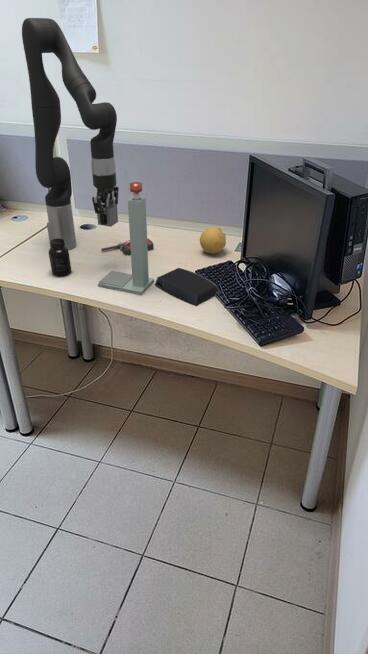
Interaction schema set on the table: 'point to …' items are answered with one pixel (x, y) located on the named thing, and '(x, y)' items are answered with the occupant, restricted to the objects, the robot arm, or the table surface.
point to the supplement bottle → (59, 258)
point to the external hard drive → (187, 286)
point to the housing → (110, 215)
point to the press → (133, 254)
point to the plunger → (136, 189)
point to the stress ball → (212, 240)
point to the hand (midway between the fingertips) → (107, 221)
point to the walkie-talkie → (128, 247)
